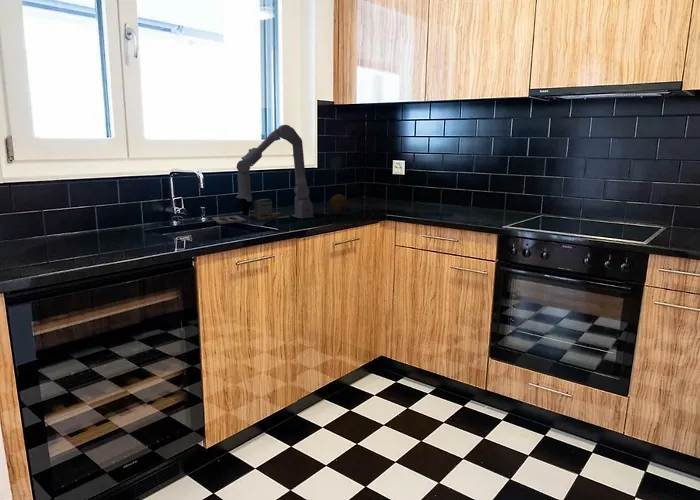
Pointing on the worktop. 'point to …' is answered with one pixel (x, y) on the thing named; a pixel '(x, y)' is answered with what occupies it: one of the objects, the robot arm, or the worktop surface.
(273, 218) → the channel rails
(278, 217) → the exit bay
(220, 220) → the plate
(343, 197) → the natural sponge
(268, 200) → the medicine box
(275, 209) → the worktop surface
